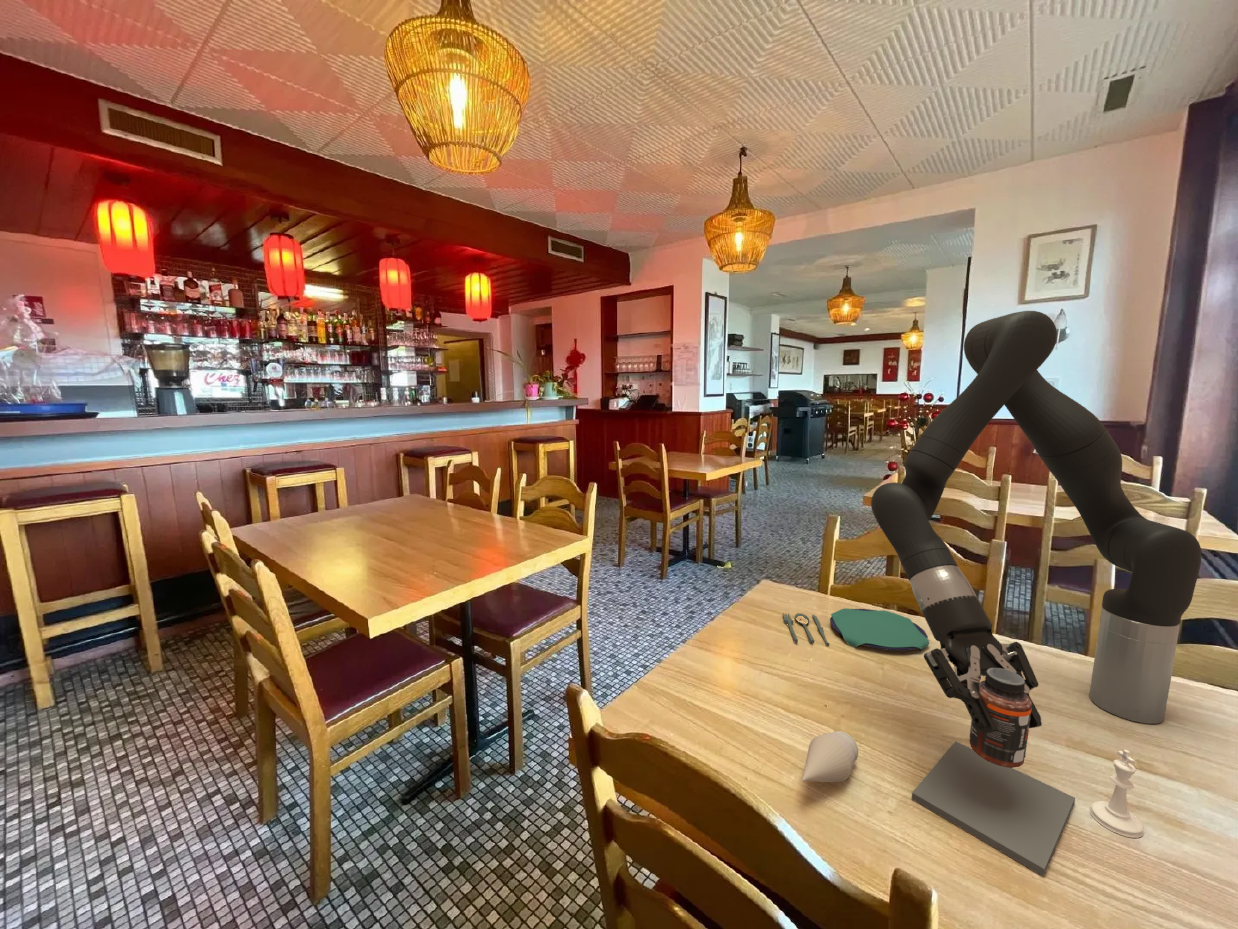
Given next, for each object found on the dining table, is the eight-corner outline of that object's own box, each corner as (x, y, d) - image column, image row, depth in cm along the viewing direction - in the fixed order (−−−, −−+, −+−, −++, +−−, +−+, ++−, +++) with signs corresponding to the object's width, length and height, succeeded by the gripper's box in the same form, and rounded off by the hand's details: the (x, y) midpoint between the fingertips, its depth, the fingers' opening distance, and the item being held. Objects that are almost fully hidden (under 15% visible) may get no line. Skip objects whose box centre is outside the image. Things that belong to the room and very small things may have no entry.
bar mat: (954, 746, 77) (955, 741, 77) (1074, 804, 66) (1075, 797, 66) (911, 799, 68) (912, 792, 67) (1043, 877, 57) (1044, 869, 56)
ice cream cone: (794, 810, 66) (841, 769, 76) (833, 803, 62) (877, 761, 72) (772, 760, 68) (820, 727, 79) (808, 751, 65) (854, 717, 75)
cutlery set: (944, 661, 102) (945, 651, 102) (793, 650, 107) (793, 640, 107) (906, 618, 122) (906, 609, 121) (779, 610, 127) (779, 602, 126)
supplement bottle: (1034, 774, 63) (1046, 692, 61) (982, 767, 64) (992, 686, 62) (1008, 741, 68) (1018, 665, 67) (960, 735, 70) (969, 660, 68)
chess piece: (1114, 804, 66) (1125, 737, 65) (1155, 837, 61) (1167, 765, 60) (1079, 806, 66) (1088, 738, 65) (1117, 839, 61) (1128, 766, 60)
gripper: (919, 596, 69) (983, 730, 60) (1009, 590, 71) (1085, 719, 62) (890, 615, 75) (944, 739, 66) (973, 609, 77) (1038, 729, 68)
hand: (1012, 729), depth 64 cm, fingers closed on supplement bottle, 6 cm apart
